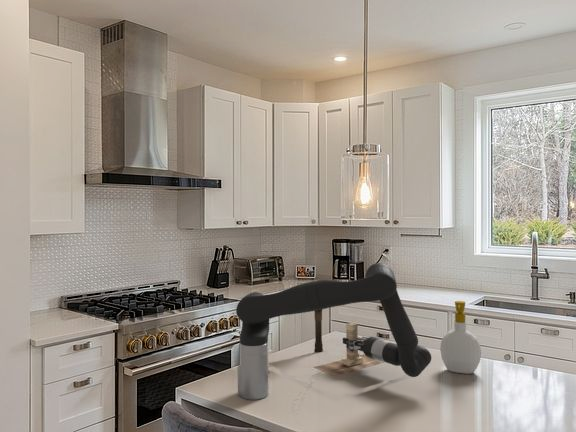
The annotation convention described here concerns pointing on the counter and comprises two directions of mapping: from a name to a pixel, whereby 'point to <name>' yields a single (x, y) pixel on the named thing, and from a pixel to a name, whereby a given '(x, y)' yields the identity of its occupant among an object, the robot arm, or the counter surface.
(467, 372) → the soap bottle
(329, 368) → the board
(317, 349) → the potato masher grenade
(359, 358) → the tan upright block
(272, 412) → the counter surface
